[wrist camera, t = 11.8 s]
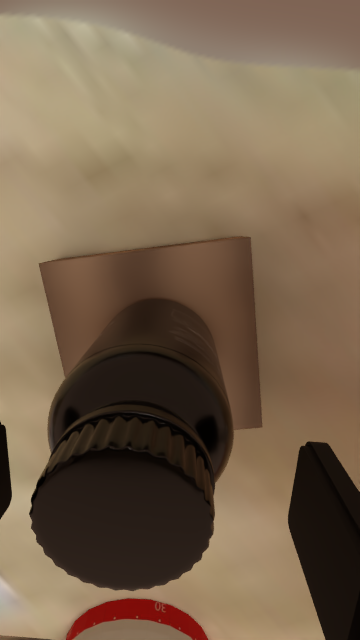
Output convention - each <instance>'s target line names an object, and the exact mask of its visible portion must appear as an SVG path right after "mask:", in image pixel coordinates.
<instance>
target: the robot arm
mask: <svg viewBox="0 0 360 640" xmlns="http://www.w3.org/2000/svg"><path fill="white" fill-rule="evenodd" d="M11 498H12V490H11V480H10V469H9V458H8V448H7V437H6V428H5V426H4V425H1V422H0V519H1V517H2V516H3V514H4V513H5V511H6V510H7V508H8V507H9V505H10V502H11ZM288 524H289V529H290V533H291V536H292V539H293V542H294V545H295V548H296V551H297V554H298V557H299V560H300V563H301V566H302V569H303V572H304V575H305V578H306V581H307V584H308V587H309V591H310V594H311V597H312V600H313V603H314V606H315V609H316V612H317V615H318V618H319V621H320V624H321V627H322V630H323V633H324V636H325V639H326V640H360V492H359V491H358V489H357V488H356V486H355V485H354V483H353V482H352V480H351V478H350V477H349V475H348V474H347V472H346V471H345V469H344V468H343V466H342V465H341V463H340V461H339V460H338V458H337V457H336V455H335V454H334V452H333V451H332V449H331V448H330V446H329V445H328V444H327V443H321V442H307V443H306V445H305V446H301V447H300V450H299V455H298V461H297V467H296V473H295V479H294V485H293V490H292V496H291V502H290V508H289V514H288ZM0 640H50V639H38V638H26V637H14V636H1V635H0Z"/></svg>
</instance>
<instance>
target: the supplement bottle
mask: <svg viewBox="0 0 360 640" xmlns="http://www.w3.org/2000/svg"><path fill="white" fill-rule="evenodd" d="M47 430H48V442H49V447H50V451H51V456H50V458H49V462H48V464H47V465H46V467H45V469H44V471H43V472H42V474H41V476H40V478H39V480H38V482H37V485H36V489H35V491H34V492H33V495H32V498H31V504H32V507H31V509H30V513H29V515H30V517H31V520H32V525H31V529H32V530H33V532H34V533H35V534H36V540H37V543H38V544H39V545H41V546H42V547H43V550H44V553H45V555H47V556H48V557H50V558H51V559H52V560H53V562H54V563H55V565H56V566H58V567H60V568H62V569H64V570H65V571H66V572H67V574H68V575H71V576H74V577H77V578H78V579H80V580H81V581H82V582H85V583H91V584H93V585H95V586H97V587H99V588H110V589H113V590H123V589H124V590H130V591H134V590H138V589H150V588H152V587H154V586H160V585H165V584H166V583H168V582H169V581H171V580H175V579H179V577H180V576H181V575H182V574H183V573H185V572H187V571H190V570H191V569H192V567H193V565H194V564H195V563H196V562H198V561H199V560H201V558H202V553H203V552H204V551H205V550H206V549H207V548H208V547H209V539H210V538H211V536H212V535H213V531H214V522H213V521H214V516H215V510H214V499H213V495H214V489H215V483H216V482H217V481H218V479H219V478H220V476H221V474H222V473H223V471H224V469H225V467H226V465H227V463H228V460H229V458H230V454H231V451H232V446H233V438H234V428H233V419H232V413H231V408H230V404H229V400H228V395H227V391H226V387H225V383H224V379H223V375H222V371H221V367H220V362H219V358H218V354H217V350H216V346H215V343H214V340H213V337H212V334H211V332H210V330H209V328H208V327H207V325H206V324H205V322H204V321H203V320H202V319H201V317H200V316H199V315H198V314H196V313H195V312H194V311H193V310H191V309H190V308H188V307H186V306H184V305H182V304H180V303H178V302H175V301H171V300H165V299H149V300H143V301H140V302H137V303H134V304H132V305H130V306H128V307H126V308H125V309H123V310H122V311H121V312H119V313H118V314H117V315H116V316H115V317H114V318H113V319H112V320H111V321H110V323H109V324H108V325H107V326H106V327H105V329H104V330H103V331H102V332H101V334H100V335H99V336H98V337H97V339H96V340H95V341H94V343H93V344H92V345H91V346H90V348H89V349H88V350H87V351H86V353H85V354H84V355H83V356H82V358H81V359H80V360H79V361H78V363H77V364H76V365H75V366H74V368H73V369H72V370H71V372H70V373H69V374H68V376H67V377H66V378H65V380H64V381H63V383H62V384H61V386H60V387H59V389H58V391H57V392H56V394H55V397H54V399H53V401H52V404H51V408H50V411H49V416H48V427H47Z"/></svg>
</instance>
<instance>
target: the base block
mask: <svg viewBox="0 0 360 640" xmlns="http://www.w3.org/2000/svg"><path fill="white" fill-rule="evenodd" d="M39 267H40V271H41V275H42V280H43V284H44V288H45V293H46V297H47V301H48V306H49V310H50V314H51V318H52V323H53V327H54V331H55V336H56V340H57V344H58V349H59V353H60V357H61V361H62V366H63V370H64V374H65V378H66V377H67V376H68V374H69V373H70V372H71V370H72V369H73V368H74V366H75V365H76V364H77V363H78V361H79V360H80V359H81V358H82V356H83V355H84V354H85V353H86V351H87V350H88V349H89V348H90V346H91V345H92V344H93V343H94V341H95V340H96V339H97V337H98V336H99V335H100V334H101V332H102V331H103V330H104V329H105V327H106V326H107V325H108V324H109V323H110V321H111V320H112V319H113V318H114V317H115V316H116V315H117V314H118V313H119V312H121V311H122V310H123V309H125V308H126V307H128V306H130V305H132V304H134V303H137V302H140V301H143V300H149V299H165V300H171V301H175V302H178V303H180V304H182V305H184V306H186V307H188V308H190V309H191V310H193V311H194V312H195V313H196V314H198V315H199V316H200V317H201V319H202V320H203V321H204V322H205V324H206V325H207V327H208V328H209V330H210V332H211V334H212V337H213V340H214V343H215V346H216V350H217V354H218V358H219V362H220V367H221V371H222V375H223V379H224V383H225V387H226V391H227V395H228V400H229V404H230V408H231V413H232V419H233V428H234V430H238V429H248V428H259V427H262V414H261V398H260V382H259V366H258V350H257V334H256V318H255V302H254V286H253V270H252V253H251V237H242V236H241V237H233V238H225V239H217V240H209V241H201V242H193V243H185V244H177V245H168V246H160V247H152V248H144V249H136V250H128V251H120V252H112V253H104V254H96V255H88V256H80V257H72V258H64V259H57V260H52V261H48V262H43V263H39Z"/></svg>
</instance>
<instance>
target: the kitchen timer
mask: <svg viewBox="0 0 360 640" xmlns="http://www.w3.org/2000/svg"><path fill="white" fill-rule="evenodd" d="M66 640H208V638H207V636H206V635H205V633H204V631H203V629H202V627H201V626H200V625H199V624H198V623H197V622H196V621H195V620H194V619H193V618H191V617H190V616H189V615H188V614H186V613H184V612H183V611H181V610H179V609H177V608H175V607H173V606H171V605H168V604H164V603H161V602H157V601H153V600H148V599H122V600H116V601H110V602H106V603H104V604H101V605H99V606H96V607H94V608H92V609H89V610H88V611H87V612H86V613H84V614H83V615H82V616H81V617H79V618H78V619H77V620H76V621H75V622H74V624H73V626H72V627H71V629H70V631H69V632H68V634H67V638H66Z"/></svg>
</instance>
